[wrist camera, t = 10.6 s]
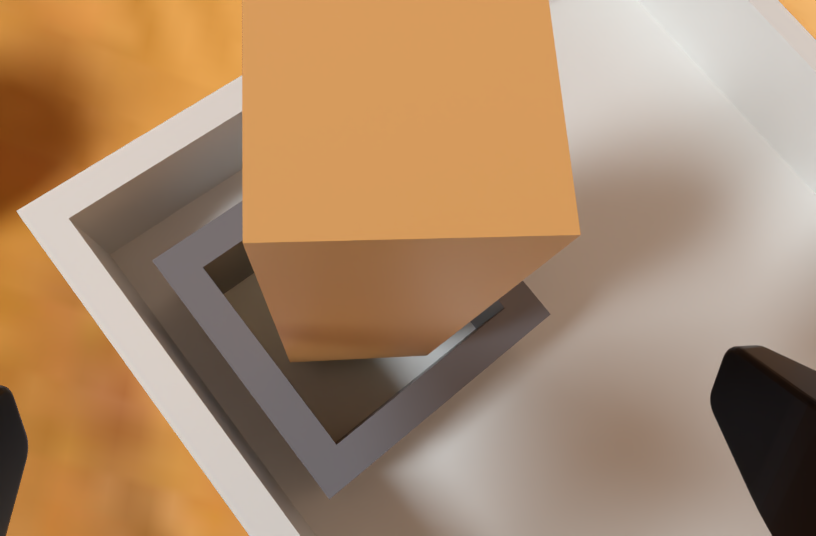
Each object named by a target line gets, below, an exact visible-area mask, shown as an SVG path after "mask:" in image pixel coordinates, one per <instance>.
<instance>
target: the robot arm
mask: <svg viewBox="0 0 816 536" xmlns="http://www.w3.org/2000/svg"><path fill="white" fill-rule="evenodd" d="M710 405H711V409H712V412H713V414H714V417H715V419H716V421H717V423H718V425H719V428H720V430H721V432H722V434H723V436H724V438H725V441H726V443H727V445H728V447H729V449H730V452H731V454H732V456H733V458H734V460H735V462H736V465H737V467H738V469H739V471H740V473H741V476H742V478H743V480H744V482H745V484H746V487H747V489H748V491H749V493H750V495H751V497H752V499H753V501H754V503H755V505H756V507H757V509H758V512H759V513H760V515H761V517H762V519H763V521H764V523H765V524H766V526H767V528H768V530H769V532H770V533H771V535H772V536H816V370H813V369H811V368H809V367H807V366H805V365H803V364H801V363H798V362H796V361H794V360H792V359H790V358H788V357H786V356H783V355H781V354H779V353H777V352H775V351H773V350H771V349H768V348H766V347H764V346H760V345H747V346H734V347H731V348H729V349H728V350H727V351H726V352H725V354H724V356H723V359H722V362H721V365H720V368H719V370H718V373H717V376H716V379H715V382H714V384H713V387H712V390H711V394H710ZM27 454H28V440H27V435H26V432H25V429H24V426H23V423H22V420H21V417H20V414H19V411H18V408H17V405H16V402H15V399H14V397H13V394H12V392H11V391H10V390H9V389H8V388H7V387H5V386H2V385H0V536H6V533H7V530H8V526H9V522H10V519H11V515H12V511H13V507H14V504H15V500H16V496H17V493H18V489H19V485H20V482H21V478H22V474H23V471H24V467H25V463H26V460H27Z"/></svg>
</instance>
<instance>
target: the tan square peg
mask: <svg viewBox="0 0 816 536" xmlns="http://www.w3.org/2000/svg"><path fill="white" fill-rule="evenodd" d="M242 216H243V245H244V248H245V251H246V253H247V256H248V258H249V261H250V263H251V266H252V268H253V271H254V273H255V276H256V278H257V281H258V283H259V286H260V288H261V291H262V293H263V296H264V298H265V301H266V303H267V306H268V308H269V311H270V313H271V316H272V318H273V321H274V323H275V326H276V329H277V331H278V334H279V336H280V339H281V341H282V344H283V346H284V349H285V351H286V354H287V356H288V359H289V361H290V362H309V361H329V360H349V359H369V358H389V357H409V356H427V355H428V354H429V353H431V352H432V351H433V350H435V349H436V348H437V347H438V346H440V345H441V344H442V343H444V342H445V341H446V340H447V339H449V338H450V337H451V336H452V335H454V334H455V333H456V332H458V331H459V330H460V329H461V328H463V327H464V326H465V325H467V324H468V323H469V322H470V321H472V320H473V319H474V318H475V317H477V316H478V315H479V314H481V313H482V312H483V311H484V310H486V309H487V308H488V307H489V306H491V305H492V304H493V303H495V302H496V301H497V300H498V299H500V298H501V297H502V296H504V295H505V294H506V293H507V292H509V291H510V290H511V289H512V288H514V287H515V286H516V285H518V284H519V283H520V282H521V281H523V280H524V279H525V278H526V277H528V276H529V275H530V274H532V273H533V272H534V271H535V270H537V269H538V268H539V267H541V266H542V265H543V264H544V263H546V262H547V261H548V260H549V259H551V258H552V257H553V256H555V255H556V254H557V253H558V252H560V251H561V250H562V249H564V248H565V247H566V246H567V245H569V244H570V243H571V242H572V241H574V240H575V239H576V238H578V237H579V236H580V235H581V233H580V226H579V218H578V211H577V204H576V196H575V189H574V182H573V174H572V167H571V160H570V152H569V145H568V138H567V130H566V123H565V116H564V108H563V101H562V94H561V86H560V79H559V72H558V64H557V57H556V50H555V42H554V35H553V28H552V20H551V13H550V6H549V0H242Z"/></svg>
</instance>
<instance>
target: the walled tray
mask: <svg viewBox="0 0 816 536" xmlns="http://www.w3.org/2000/svg"><path fill="white" fill-rule="evenodd" d="M549 6H550V13H551V20H552V28H553V35H554V42H555V50H556V57H557V64H558V72H559V79H560V86H561V94H562V101H563V108H564V116H565V123H566V130H567V138H568V145H569V152H570V160H571V167H572V174H573V182H574V189H575V196H576V204H577V211H578V218H579V226H580V233H581V235H580V236H579V237H578V238H576V239H575V240H574V241H572V242H571V243H570V244H569V245H567V246H566V247H565V248H564V249H562V250H561V251H560V252H558V253H557V254H556V255H555V256H553V257H552V258H551V259H549V260H548V261H547V262H546V263H544V264H543V265H542V266H541V267H539V268H538V269H537V270H535V271H534V272H533V273H532V274H530V275H529V276H528V277H526V278H525V279H524V280H523V281H521V282H520V283H519V284H518V285H516V286H515V287H514V288H512V289H511V290H510V291H509V292H507V293H506V294H505V295H504V296H502V297H501V298H500V299H498V300H497V301H496V302H495V303H493V304H492V305H491V306H489V307H488V308H487V309H486V310H484V311H483V312H482V313H481V314H479V315H478V316H477V317H475V318H474V319H473V320H472V321H470V322H469V323H468V324H467V325H465V326H464V327H463V328H461V329H460V330H459V331H458V332H456V333H455V334H454V335H452V336H451V337H450V338H449V339H447V340H446V341H445V342H444V343H442V344H441V345H440V346H438V347H437V348H436V349H435V350H433V351H432V352H431V353H429V354H428V355H427V356H409V357H389V358H369V359H349V360H329V361H309V362H290V361H289V359H288V356H287V354H286V351H285V349H284V346H283V344H282V341H281V339H280V336H279V334H278V331H277V329H276V326H275V323H274V321H273V318H272V316H271V313H270V311H269V308H268V306H267V303H266V301H265V298H264V296H263V293H262V291H261V288H260V286H259V283H258V281H257V278H256V276H255V273H254V271H253V268H252V266H251V263H250V261H249V258H248V256H247V253H246V251H245V248H244V245H243V216H242V76H240V77H238V78H237V79H235V80H233V81H232V82H230V83H228V84H227V85H225V86H223V87H222V88H220V89H218V90H217V91H215V92H213V93H212V94H210V95H208V96H207V97H205V98H203V99H202V100H200V101H198V102H197V103H195V104H193V105H192V106H190V107H188V108H187V109H185V110H183V111H182V112H180V113H178V114H177V115H175V116H174V117H172V118H170V119H169V120H167V121H165V122H164V123H162V124H160V125H159V126H157V127H155V128H154V129H152V130H150V131H149V132H147V133H145V134H144V135H142V136H140V137H139V138H137V139H135V140H134V141H132V142H130V143H129V144H127V145H125V146H124V147H122V148H120V149H119V150H117V151H115V152H114V153H112V154H110V155H109V156H107V157H105V158H104V159H102V160H100V161H99V162H97V163H95V164H94V165H92V166H90V167H89V168H87V169H85V170H84V171H82V172H80V173H79V174H77V175H75V176H74V177H72V178H70V179H69V180H67V181H65V182H64V183H62V184H60V185H59V186H57V187H55V188H54V189H52V190H50V191H49V192H47V193H45V194H44V195H42V196H40V197H39V198H37V199H35V200H34V201H32V202H30V203H29V204H27V205H25V206H24V207H22V208H20V209H19V210H17V211H16V212H17V213H18V214H19V216H20V217H21V219H22V220H23V221H24V223H25V224H26V225H27V227H28V228H29V230H30V231H31V232H32V234H33V235H34V237H35V238H36V239H37V241H38V242H39V244H40V245H41V246H42V248H43V249H44V251H45V252H46V253H47V255H48V256H49V257H50V259H51V260H52V262H53V263H54V264H55V266H56V267H57V269H58V270H59V271H60V273H61V274H62V276H63V277H64V278H65V280H66V281H67V283H68V284H69V285H70V287H71V288H72V289H73V291H74V292H75V294H76V295H77V296H78V298H79V299H80V301H81V302H82V303H83V305H84V306H85V308H86V309H87V310H88V312H89V313H90V315H91V316H92V317H93V319H94V320H95V321H96V323H97V324H98V326H99V327H100V328H101V330H102V331H103V333H104V334H105V335H106V337H107V338H108V340H109V341H110V342H111V344H112V345H113V347H114V348H115V349H116V351H117V352H118V353H119V355H120V356H121V358H122V359H123V360H124V362H125V363H126V365H127V366H128V367H129V369H130V370H131V372H132V373H133V374H134V376H135V377H136V379H137V380H138V381H139V383H140V384H141V385H142V387H143V388H144V390H145V391H146V392H147V394H148V395H149V397H150V398H151V399H152V401H153V402H154V404H155V405H156V406H157V408H158V409H159V411H160V412H161V413H162V415H163V416H164V417H165V419H166V420H167V422H168V423H169V424H170V426H171V427H172V429H173V430H174V431H175V433H176V434H177V436H178V437H179V438H180V440H181V441H182V443H183V444H184V445H185V447H186V448H187V449H188V451H189V452H190V454H191V455H192V456H193V458H194V459H195V461H196V462H197V463H198V465H199V466H200V468H201V469H202V470H203V472H204V473H205V475H206V476H207V477H208V479H209V480H210V481H211V483H212V484H213V486H214V487H215V488H216V490H217V491H218V493H219V494H220V495H221V497H222V498H223V500H224V501H225V502H226V504H227V505H228V507H229V508H230V509H231V511H232V512H233V513H234V515H235V516H236V518H237V519H238V520H239V522H240V523H241V525H242V526H243V527H244V529H245V530H246V532H247V533H248V534H249V536H772V535H771V533H770V532H769V530H768V528H767V526H766V524H765V523H764V521H763V519H762V517H761V515H760V513H759V512H758V509H757V507H756V505H755V503H754V501H753V499H752V497H751V495H750V493H749V491H748V489H747V487H746V484H745V482H744V480H743V478H742V476H741V473H740V471H739V469H738V467H737V465H736V462H735V460H734V458H733V456H732V454H731V452H730V449H729V447H728V445H727V443H726V441H725V438H724V436H723V434H722V432H721V430H720V428H719V425H718V423H717V421H716V419H715V417H714V414H713V412H712V409H711V405H710V394H711V390H712V387H713V384H714V382H715V379H716V376H717V373H718V370H719V368H720V365H721V362H722V359H723V356H724V354H725V352H726V351H727V350H728V349H729V348H731V347H734V346H747V345H760V346H764V347H766V348H768V349H771V350H773V351H775V352H777V353H779V354H781V355H783V356H786V357H788V358H790V359H792V360H794V361H796V362H798V363H801V364H803V365H805V366H807V367H809V368H811V369H813V370H816V40H815V39H814V38H813V37H812V35H811V34H810V33H809V32H808V31H807V30H806V29H805V28H804V27H803V26H802V25H801V24H800V23H799V22H798V21H797V20H796V19H795V18H794V17H793V16H792V14H791V13H790V12H789V11H788V10H787V9H786V8H785V7H784V6H783V5H782V4H781V3H780V2H779V1H778V0H549Z"/></svg>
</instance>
